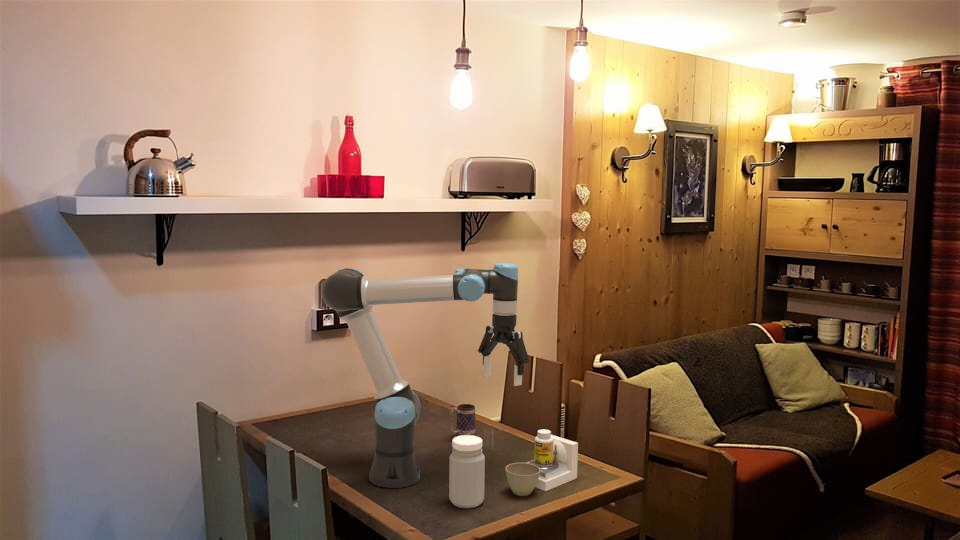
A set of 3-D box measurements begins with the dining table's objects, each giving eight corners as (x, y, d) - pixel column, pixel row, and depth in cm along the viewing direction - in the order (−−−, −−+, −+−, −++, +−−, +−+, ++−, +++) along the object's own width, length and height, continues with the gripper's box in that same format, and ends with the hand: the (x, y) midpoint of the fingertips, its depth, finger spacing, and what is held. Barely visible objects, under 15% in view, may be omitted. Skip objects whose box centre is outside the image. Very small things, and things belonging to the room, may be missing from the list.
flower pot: (514, 502, 213) (514, 477, 212) (499, 488, 222) (499, 465, 222) (545, 496, 217) (546, 472, 216) (529, 483, 226) (530, 460, 226)
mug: (468, 434, 270) (469, 401, 269) (480, 439, 265) (480, 406, 263) (444, 439, 265) (444, 405, 263) (454, 445, 259) (455, 410, 258)
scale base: (545, 491, 221) (546, 454, 220) (515, 479, 229) (515, 444, 228) (577, 478, 231) (578, 442, 230) (546, 467, 240) (547, 433, 238)
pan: (545, 479, 222) (545, 473, 222) (520, 470, 229) (520, 463, 229) (567, 471, 229) (567, 464, 229) (541, 462, 236) (541, 455, 236)
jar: (485, 509, 208) (486, 445, 206) (449, 510, 207) (450, 445, 205) (482, 494, 218) (483, 433, 216) (448, 495, 217) (448, 434, 215)
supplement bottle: (531, 466, 227) (532, 432, 226) (537, 460, 232) (538, 427, 231) (549, 468, 225) (550, 435, 224) (555, 462, 230) (555, 429, 229)
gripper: (542, 318, 230) (539, 387, 232) (485, 306, 248) (483, 370, 250) (525, 320, 224) (522, 391, 227) (468, 308, 243) (466, 374, 245)
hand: (502, 380), depth 238 cm, fingers open, 13 cm apart
